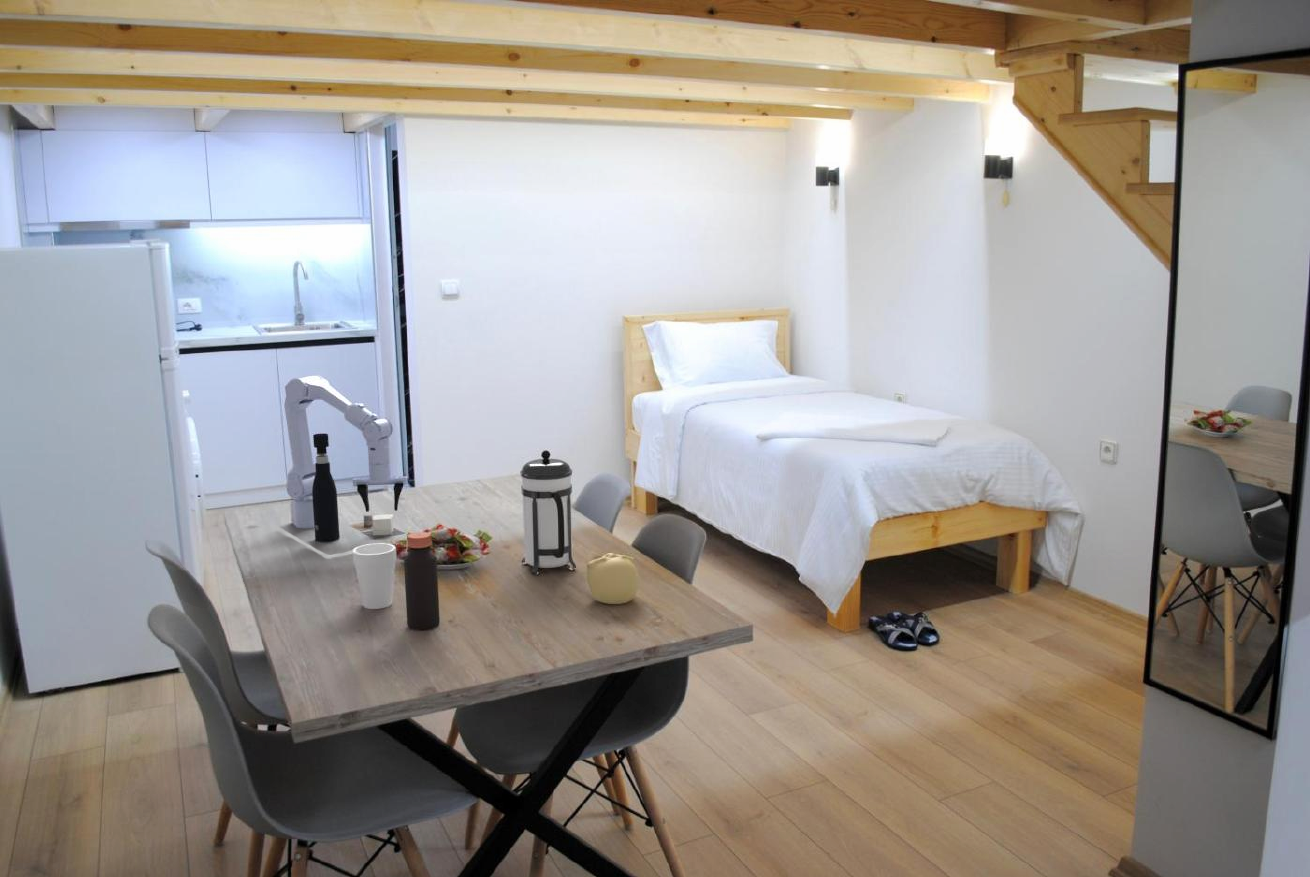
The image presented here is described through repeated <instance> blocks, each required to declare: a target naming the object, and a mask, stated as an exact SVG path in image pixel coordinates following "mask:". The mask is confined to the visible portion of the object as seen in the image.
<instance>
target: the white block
mask: <svg viewBox="0 0 1310 877" xmlns="http://www.w3.org/2000/svg"><path fill="white" fill-rule="evenodd" d="M372 519H373V520H372V521H373V529H372V530H373V535H392V533H393V530H394V528H395V527H394V514H373V516H372Z"/></svg>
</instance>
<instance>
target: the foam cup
mask: <svg viewBox="0 0 1310 877" xmlns="http://www.w3.org/2000/svg"><path fill="white" fill-rule="evenodd" d="M396 559H397V549H396V546H395V545H393V544H392V543H383V542H378V543H377V542H374V543H367V544H362V545H358V546H355V547H354V548H353V549H352V562H353V564H354V566H355V573H356V577H357V581H358V587H359V592H360V596H361V600H362V601H361V602H362V606H363V608H365V609H368V610H369V609H370V610H379V609H384V608H387V607H390V606H391V605H392V604H393V596H394V593H393V592H394V583H395V582H394V581H395V570H396Z"/></svg>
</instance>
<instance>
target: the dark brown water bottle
mask: <svg viewBox="0 0 1310 877" xmlns="http://www.w3.org/2000/svg"><path fill="white" fill-rule="evenodd" d="M406 536H407V537H406V538H407V539H406V540H407V541H406V542H407V549H408V550H409V552H408V553H407V554H406V556H405V557H404V558H403V569H404V570H403V571H404V585H405V586H404V588H405V591H404V592H405V604H406V606H405V607H406V608H405V609H406V621H407V622H406V623H407V624H406V625H407V627H408V628H409V629H411V630H414V631H428V630H432V629H434V628H437V627H438V626H439V625H440V622H441V620H440V604H439V602H440V600H439V599H440V598H439V581H438V578H439V577H438V559H437V556H436V554H435V553H434V552H432V550H431V548H432V533H430V532H425V531H424V532H423V531H418V532H417V531H415V532H412V533H409V534H408V535H406Z"/></svg>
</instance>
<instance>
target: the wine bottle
mask: <svg viewBox="0 0 1310 877" xmlns="http://www.w3.org/2000/svg"><path fill="white" fill-rule="evenodd" d="M312 437H313V438H312V439H313V448H316V457H315V459H316V460H315V462H314V464H315V468H316V474H315V478H314V482H313V487H312V499H313V513H314V527H313V528H314V538H315V539H314V540H315V542H318V543H331V542H335V541H336V542H337V541H338V540H340V537H341V535H340V523H339V522H340V521H339V506H338V505H339V504H338V492H337V491H338V490H337V486H336V482H335V480H334V477H333V474H332V473H331V463H330V461H329V455H327V454H328V452H327V451H328V450H327V448H329V447H330V444H329V442H330V441H329V434H328V433H315V434H313V435H312Z"/></svg>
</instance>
